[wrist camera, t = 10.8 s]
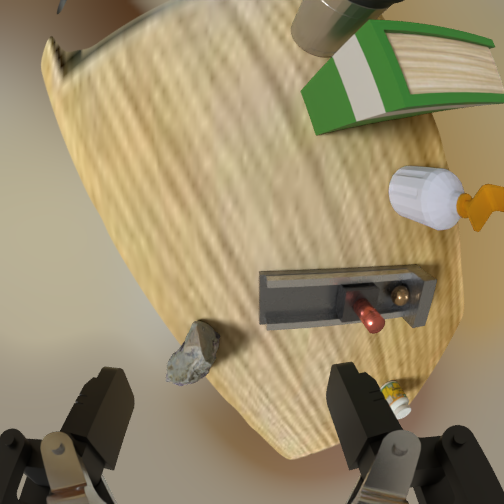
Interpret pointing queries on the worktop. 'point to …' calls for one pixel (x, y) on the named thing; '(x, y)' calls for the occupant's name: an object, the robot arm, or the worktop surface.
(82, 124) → the worktop surface
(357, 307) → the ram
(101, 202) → the worktop surface
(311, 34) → the robot arm
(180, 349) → the mineral rock
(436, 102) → the hardback book
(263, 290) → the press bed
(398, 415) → the supplement bottle
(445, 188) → the soap bottle
